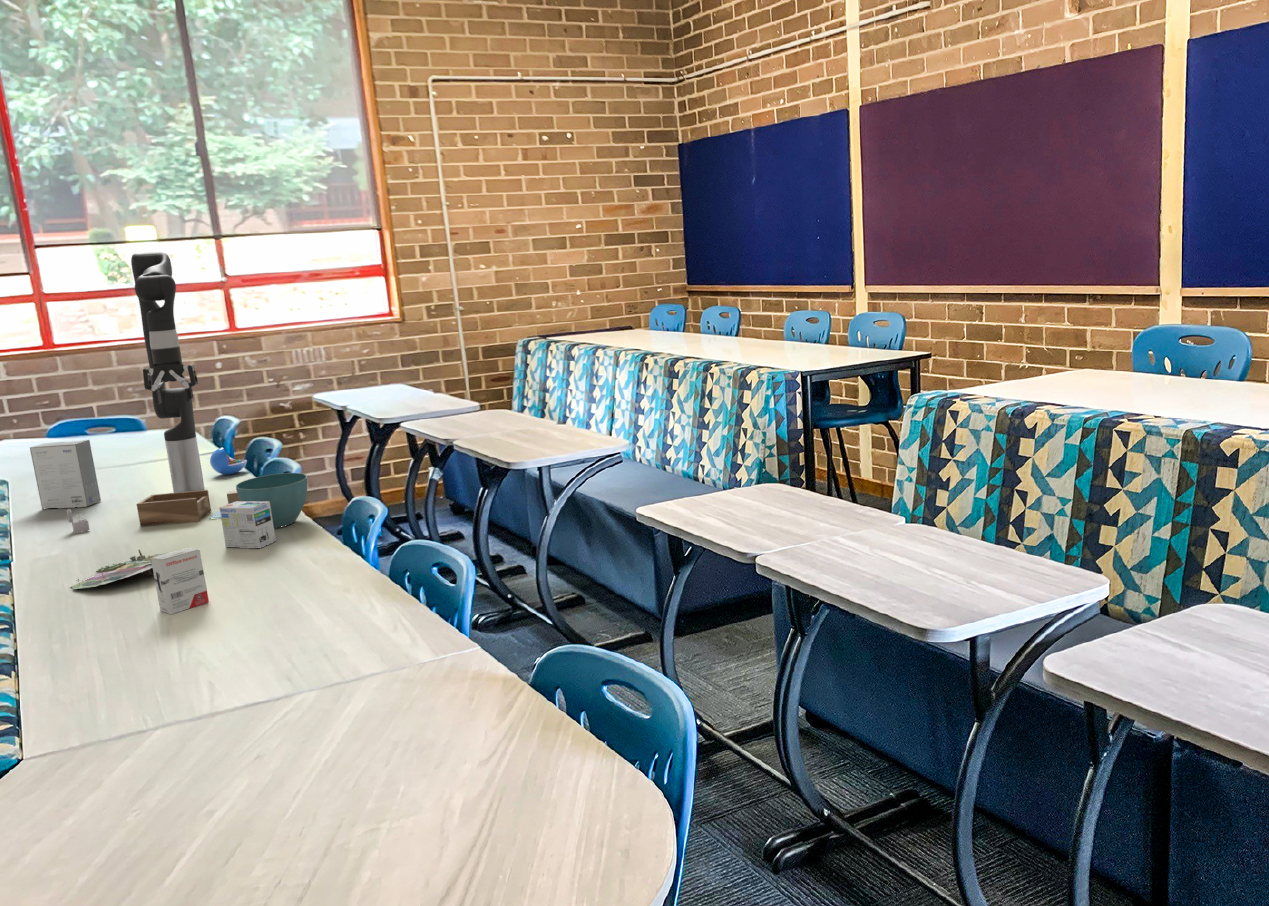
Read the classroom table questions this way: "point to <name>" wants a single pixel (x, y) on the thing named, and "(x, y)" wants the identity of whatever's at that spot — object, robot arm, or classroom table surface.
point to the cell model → (225, 463)
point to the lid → (231, 497)
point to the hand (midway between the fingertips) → (174, 402)
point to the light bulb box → (247, 524)
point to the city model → (119, 571)
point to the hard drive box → (65, 474)
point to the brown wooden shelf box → (174, 508)
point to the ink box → (179, 580)
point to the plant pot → (277, 494)
